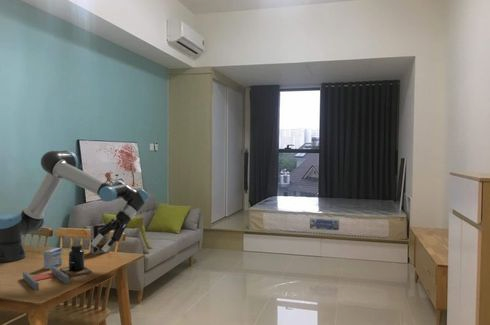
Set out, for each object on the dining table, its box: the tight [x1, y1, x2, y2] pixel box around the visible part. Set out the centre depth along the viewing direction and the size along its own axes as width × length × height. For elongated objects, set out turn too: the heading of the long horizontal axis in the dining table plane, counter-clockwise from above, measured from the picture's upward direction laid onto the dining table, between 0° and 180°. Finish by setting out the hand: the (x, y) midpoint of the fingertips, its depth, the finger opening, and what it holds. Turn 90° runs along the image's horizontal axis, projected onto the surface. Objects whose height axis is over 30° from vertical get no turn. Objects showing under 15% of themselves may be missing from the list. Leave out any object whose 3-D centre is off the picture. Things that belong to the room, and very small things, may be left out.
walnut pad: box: [59, 265, 93, 278], centre depth 190 cm, size 14×10×1 cm
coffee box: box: [89, 222, 111, 255], centre depth 225 cm, size 9×6×16 cm
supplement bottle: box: [68, 243, 85, 272], centre depth 189 cm, size 7×7×12 cm
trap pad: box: [32, 272, 55, 282], centre depth 180 cm, size 6×9×1 cm, turn 133°
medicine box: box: [43, 247, 63, 270], centre depth 197 cm, size 8×4×9 cm, turn 168°
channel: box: [22, 266, 70, 291], centre depth 176 cm, size 20×13×3 cm
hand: (97, 248), depth 196 cm, fingers open, 13 cm apart
